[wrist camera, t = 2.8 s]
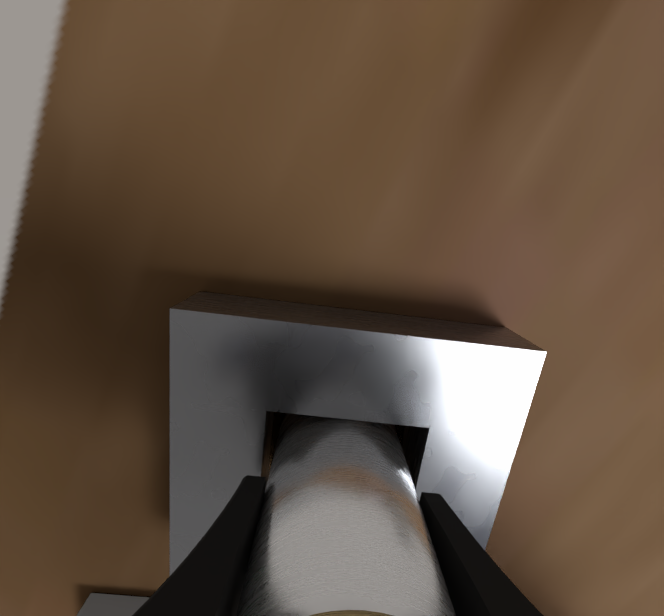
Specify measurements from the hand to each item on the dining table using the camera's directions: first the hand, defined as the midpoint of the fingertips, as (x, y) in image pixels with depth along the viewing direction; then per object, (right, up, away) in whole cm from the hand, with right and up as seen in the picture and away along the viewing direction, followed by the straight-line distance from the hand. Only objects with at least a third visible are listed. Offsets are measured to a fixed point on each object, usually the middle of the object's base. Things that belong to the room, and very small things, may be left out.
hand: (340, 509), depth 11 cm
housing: (0, +1, +4) cm, 4 cm away
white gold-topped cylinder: (0, +1, +3) cm, 3 cm away
